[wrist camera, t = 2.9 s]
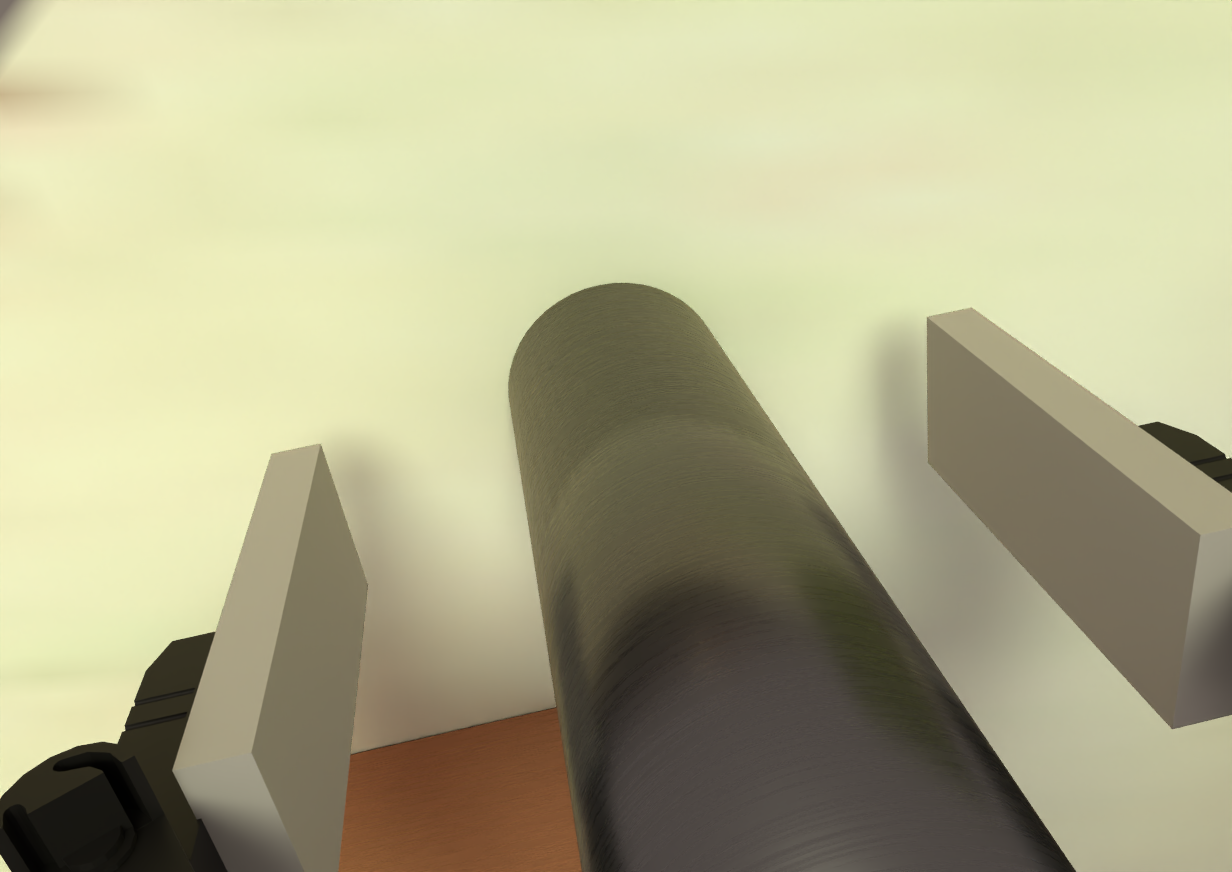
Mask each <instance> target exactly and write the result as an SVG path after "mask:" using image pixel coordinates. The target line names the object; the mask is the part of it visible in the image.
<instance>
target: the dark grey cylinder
mask: <svg viewBox="0 0 1232 872" xmlns="http://www.w3.org/2000/svg"><path fill="white" fill-rule="evenodd" d="M509 402H510V408H511V415H512V421H513V428H514V434H515V441H516V447H517V454H518V460H519V467H520V473H521V480H522V486H523V493H524V499H525V506H526V512H527V519H528V525H529V532H530V538H531V545H532V551H533V558H534V564H535V571H536V577H537V584H538V590H539V597H540V603H541V610H542V616H543V623H544V629H545V636H546V642H547V649H548V655H549V662H550V668H551V675H552V681H553V688H554V694H555V701H556V707H557V714H558V720H559V727H560V733H561V740H562V746H563V753H564V759H565V766H566V772H567V779H568V785H569V792H570V798H571V805H572V811H573V818H574V824H575V831H576V837H577V844H578V850H579V857H580V863H581V870H582V872H1076V871H1075V869H1074V868H1073V866H1072V865H1071V863H1070V862H1069V861H1068V859H1067V858H1066V856H1065V855H1064V853H1063V852H1062V850H1061V849H1060V847H1059V846H1058V844H1057V843H1056V841H1055V840H1054V838H1053V837H1052V835H1051V834H1050V832H1049V831H1048V829H1047V828H1046V827H1045V825H1044V824H1043V822H1042V821H1041V819H1040V818H1039V816H1038V815H1037V813H1036V812H1035V810H1034V809H1033V807H1032V806H1031V804H1030V803H1029V801H1028V800H1027V798H1026V797H1025V796H1024V794H1023V793H1022V791H1021V790H1020V788H1019V787H1018V785H1017V784H1016V782H1015V781H1014V779H1013V778H1012V776H1011V775H1010V773H1009V772H1008V770H1007V769H1006V767H1005V766H1004V764H1003V763H1002V762H1001V760H1000V759H999V757H998V756H997V754H996V753H995V751H994V750H993V748H992V747H991V745H990V744H989V742H988V741H987V739H986V738H985V736H984V735H983V733H982V732H981V731H980V729H979V728H978V726H977V725H976V723H975V722H974V720H973V719H972V717H971V716H970V714H969V713H968V711H967V710H966V708H965V707H964V705H963V704H962V702H961V701H960V700H959V698H958V697H957V695H956V694H955V692H954V691H953V689H952V688H951V686H950V685H949V683H948V682H947V680H946V679H945V677H944V676H943V674H942V673H941V671H940V670H939V668H938V667H937V666H936V664H935V663H934V661H933V660H932V658H931V657H930V655H929V654H928V652H927V651H926V649H925V648H924V646H923V645H922V643H921V642H920V640H919V639H918V637H917V636H916V635H915V633H914V632H913V630H912V629H911V627H910V626H909V624H908V623H907V621H906V620H905V618H904V617H903V615H902V614H901V612H900V611H899V609H898V608H897V606H896V605H895V604H894V602H893V601H892V599H891V598H890V596H889V595H888V593H887V592H886V590H885V589H884V587H883V586H882V584H881V583H880V581H879V580H878V578H877V577H876V575H875V574H874V572H873V571H872V570H871V568H870V567H869V565H868V564H867V562H866V561H865V559H864V558H863V556H862V555H861V553H860V552H859V550H858V549H857V547H856V546H855V544H854V543H853V541H852V540H851V539H850V537H849V536H848V534H847V533H846V531H845V530H844V528H843V527H842V525H841V524H840V522H839V521H838V519H837V518H836V516H835V515H834V513H833V512H832V510H831V509H830V507H829V506H828V505H827V503H826V502H825V500H824V499H823V497H822V496H821V494H820V493H819V491H818V490H817V488H816V487H815V485H814V484H813V482H812V481H811V479H810V478H809V476H808V475H807V474H806V472H805V471H804V469H803V468H802V466H801V465H800V463H799V462H798V460H797V459H796V457H795V456H794V454H793V453H792V451H791V450H790V448H789V447H788V445H787V444H786V443H785V441H784V440H783V438H782V437H781V435H780V434H779V432H778V431H777V429H776V428H775V426H774V425H773V423H772V422H771V420H770V419H769V417H768V416H767V414H766V413H765V411H764V410H763V409H762V407H761V406H760V404H759V403H758V401H757V400H756V398H755V397H754V395H753V394H752V392H751V391H750V389H749V388H748V386H747V385H746V383H745V382H744V380H743V379H742V378H741V376H740V375H739V373H738V372H737V370H736V369H735V367H734V366H733V364H732V363H731V361H730V360H729V358H728V357H727V355H726V354H725V352H724V351H723V349H722V348H721V347H720V345H719V344H718V342H717V341H716V339H715V338H714V336H713V335H712V333H711V332H710V330H709V329H708V327H707V326H706V325H705V323H704V322H703V320H702V319H701V318H700V317H699V316H698V315H697V314H696V312H695V311H694V310H693V309H692V308H690V307H689V306H688V305H687V304H685V303H684V302H683V301H681V300H680V299H678V298H676V297H675V296H673V295H671V294H669V293H667V292H664V291H662V290H659V289H657V288H653V287H650V286H646V285H641V284H632V283H612V284H604V285H598V286H594V287H591V288H587V289H584V290H581V291H579V292H576V293H574V294H571V295H570V296H568V297H566V298H564V299H562V300H561V301H559V302H557V303H556V304H555V305H553V306H552V307H551V308H549V309H548V310H547V311H545V312H544V313H543V314H542V315H541V316H540V317H539V318H538V319H537V320H536V321H535V322H534V324H533V325H532V326H531V327H530V329H529V330H528V331H527V332H526V334H525V336H524V337H523V339H522V341H521V342H520V344H519V346H518V349H517V351H516V353H515V355H514V358H513V362H512V365H511V369H510V375H509Z"/></svg>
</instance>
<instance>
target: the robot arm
mask: <svg viewBox="0 0 1232 872" xmlns="http://www.w3.org/2000/svg"><path fill="white" fill-rule="evenodd" d="M927 413H928V463H929V464H930V465H931V467H932V468H933V469H934V470H935V471H936V472H937V473H938V474H939V475H940V476H941V477H942V479H943V480H944V481H945V482H946V483H947V484H948V485H949V486H950V487H951V488H952V489H953V491H954V492H955V493H956V494H957V495H958V496H959V497H960V498H961V499H962V500H963V501H964V503H965V504H966V505H967V506H968V507H969V508H970V509H971V510H972V511H973V512H974V513H975V515H976V516H977V517H978V518H979V519H980V520H981V521H982V522H983V523H984V524H985V525H986V527H987V528H988V529H989V530H990V531H991V532H992V533H993V534H994V535H995V536H996V538H997V539H998V540H999V541H1000V542H1001V543H1002V544H1003V545H1004V546H1005V547H1006V548H1007V550H1008V551H1009V552H1010V553H1011V554H1012V555H1013V556H1014V557H1015V558H1016V559H1017V560H1018V562H1019V563H1020V564H1021V565H1022V566H1023V567H1024V568H1025V569H1026V570H1027V571H1028V572H1029V574H1030V575H1031V576H1032V577H1033V578H1034V579H1035V580H1036V581H1037V582H1038V583H1039V584H1040V586H1041V587H1042V588H1043V589H1044V590H1045V591H1046V592H1047V593H1048V594H1049V595H1050V596H1051V598H1052V599H1053V600H1054V601H1055V602H1056V603H1057V604H1058V605H1059V606H1060V607H1061V608H1062V610H1063V611H1064V612H1065V613H1066V614H1067V615H1068V616H1069V617H1070V618H1071V619H1072V620H1073V622H1074V623H1075V624H1076V625H1077V626H1078V627H1079V628H1080V629H1081V630H1082V631H1083V632H1084V634H1085V635H1086V636H1087V637H1088V638H1089V639H1090V640H1091V641H1092V642H1093V643H1094V644H1095V646H1096V647H1097V648H1098V649H1099V650H1100V651H1101V652H1102V653H1103V654H1104V655H1105V656H1106V658H1107V659H1108V660H1109V661H1110V662H1111V663H1112V664H1113V665H1114V666H1115V667H1116V668H1117V670H1118V671H1119V672H1120V673H1121V674H1122V675H1123V676H1124V677H1125V678H1126V679H1127V680H1128V682H1129V683H1130V684H1131V685H1132V686H1133V687H1134V688H1135V689H1136V690H1137V691H1138V692H1139V694H1140V695H1141V696H1142V697H1143V698H1144V699H1145V700H1146V701H1147V702H1148V703H1149V704H1150V706H1151V707H1152V708H1153V709H1154V710H1155V711H1156V712H1157V713H1158V714H1159V715H1160V717H1161V718H1162V719H1163V720H1164V721H1165V722H1166V723H1167V724H1168V725H1169V726H1170V727H1171V729H1175V728H1179V727H1183V726H1187V725H1191V724H1196V723H1200V722H1204V721H1208V720H1212V719H1216V718H1220V717H1224V716H1229V715H1232V459H1231V458H1229V459H1226V457H1225V454H1224V453H1222V452H1221V451H1219V450H1218V449H1216V448H1215V447H1213V446H1212V445H1210V444H1209V443H1207V442H1206V441H1204V440H1203V439H1201V438H1200V437H1199V436H1197V435H1194V434H1192V433H1189V432H1186V431H1183V430H1180V429H1177V428H1174V427H1172V426H1169V425H1166V424H1163V423H1160V422H1154V423H1149V424H1145V425H1140V426H1137V425H1136V424H1134V423H1133V422H1132V421H1130V420H1129V419H1127V418H1126V417H1125V416H1123V415H1122V414H1120V413H1119V412H1118V411H1116V410H1115V409H1113V408H1112V407H1111V406H1109V405H1108V404H1106V403H1105V402H1103V401H1102V400H1101V399H1099V398H1098V397H1096V396H1095V395H1094V394H1092V393H1091V392H1089V391H1088V390H1087V389H1085V388H1084V387H1082V386H1081V385H1080V384H1078V383H1077V382H1075V381H1074V380H1073V379H1071V378H1070V377H1068V376H1067V375H1066V374H1064V373H1063V372H1061V371H1060V370H1059V369H1057V368H1056V367H1054V366H1053V365H1052V364H1050V363H1049V362H1047V361H1046V360H1045V359H1043V358H1042V357H1040V356H1039V355H1038V354H1036V353H1035V352H1033V351H1032V350H1031V349H1029V348H1028V347H1026V346H1025V345H1023V344H1022V343H1021V342H1019V341H1018V340H1016V339H1015V338H1014V337H1012V336H1011V335H1009V334H1008V333H1007V332H1005V331H1004V330H1002V329H1001V328H1000V327H998V326H997V325H995V324H994V323H993V322H991V321H990V320H988V319H987V318H986V317H984V316H983V315H981V314H980V313H979V312H977V311H976V310H974V309H973V308H967V309H962V310H958V311H953V312H948V313H943V314H938V315H934V316H929V317H927ZM367 590H368V584H367V581H366V578H365V575H364V572H363V569H362V566H361V563H360V560H359V557H358V554H357V551H356V548H355V545H354V542H353V539H352V536H351V533H350V530H349V527H348V524H347V521H346V518H345V515H344V512H343V509H342V506H341V503H340V500H339V497H338V494H337V491H336V488H335V485H334V482H333V479H332V476H331V473H330V470H329V467H328V464H327V461H326V458H325V455H324V452H323V449H322V446H321V444H316V445H311V446H306V447H302V448H297V449H292V450H287V451H282V452H278V453H273V454H271V457H270V460H269V463H268V466H267V469H266V473H265V476H264V479H263V482H262V485H261V489H260V492H259V495H258V498H257V501H256V505H255V508H254V511H253V514H252V517H251V521H250V524H249V527H248V530H247V533H246V537H245V540H244V543H243V546H242V549H241V553H240V556H239V559H238V562H237V565H236V568H235V572H234V575H233V578H232V581H231V584H230V588H229V591H228V594H227V597H226V600H225V604H224V607H223V610H222V613H221V616H220V620H219V623H218V626H217V629H216V632H212V633H207V634H203V635H198V636H194V637H189V638H185V639H180V640H176V641H172V642H171V643H170V644H169V646H168V647H167V648H166V649H165V650H164V651H163V652H162V653H161V655H160V656H159V657H158V658H157V659H156V660H155V661H154V662H153V664H152V665H151V666H150V667H149V668H148V669H147V670H146V672H145V675H144V677H143V680H142V682H141V685H140V688H139V690H138V693H137V695H136V698H135V700H134V702H135V706H134V707H132V708H131V711H130V713H129V716H128V718H127V721H126V723H125V731H124V732H122V734H121V736H120V739H119V741H118V744H113V743H107V742H99V743H93V744H87V745H81V746H77V747H74V748H72V749H69V750H67V751H65V752H62V753H60V754H57V755H55V756H53V757H50V758H49V759H47V760H45V761H44V762H42V763H41V764H39V765H38V766H36V767H35V768H33V769H32V770H30V771H29V772H27V773H26V774H24V775H23V776H22V777H21V778H20V779H19V780H18V781H17V782H16V783H15V784H14V785H13V786H12V787H11V788H10V789H9V790H8V791H7V792H5V793H4V794H3V795H2V797H1V799H0V855H1V856H2V858H3V859H4V861H5V862H6V864H7V865H8V867H9V869H10V870H11V872H338V869H339V860H340V850H341V840H342V831H343V821H344V812H345V802H346V792H347V783H348V773H349V764H350V754H351V744H352V735H353V725H354V715H355V706H356V696H357V687H358V677H359V667H360V658H361V648H362V638H363V629H364V619H365V610H366V600H367Z"/></svg>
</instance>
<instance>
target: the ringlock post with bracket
mask: <svg viewBox="0 0 1232 872" xmlns="http://www.w3.org/2000/svg"><path fill="white" fill-rule="evenodd" d="M338 872H582V870H581V863H580V857H579V850H578V844H577V837H576V831H575V824H574V818H573V811H572V805H571V798H570V792H569V785H568V779H567V772H566V766H565V759H564V753H563V746H562V740H561V733H560V727H559V720H558V714H557V707H556V708H552V709H548V710H543V711H539V712H535V713H530V714H526V715H522V716H517V717H513V718H509V719H504V720H500V721H496V722H491V723H487V724H483V725H478V726H474V727H470V728H465V729H461V730H457V731H452V732H448V733H444V734H439V735H435V736H431V737H426V738H422V739H418V740H413V741H409V742H405V743H400V744H396V745H392V746H387V747H383V748H379V749H374V750H370V751H366V752H361V753H357V754H353V755H350V764H349V773H348V783H347V792H346V802H345V812H344V821H343V831H342V840H341V850H340V860H339V869H338Z"/></svg>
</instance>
